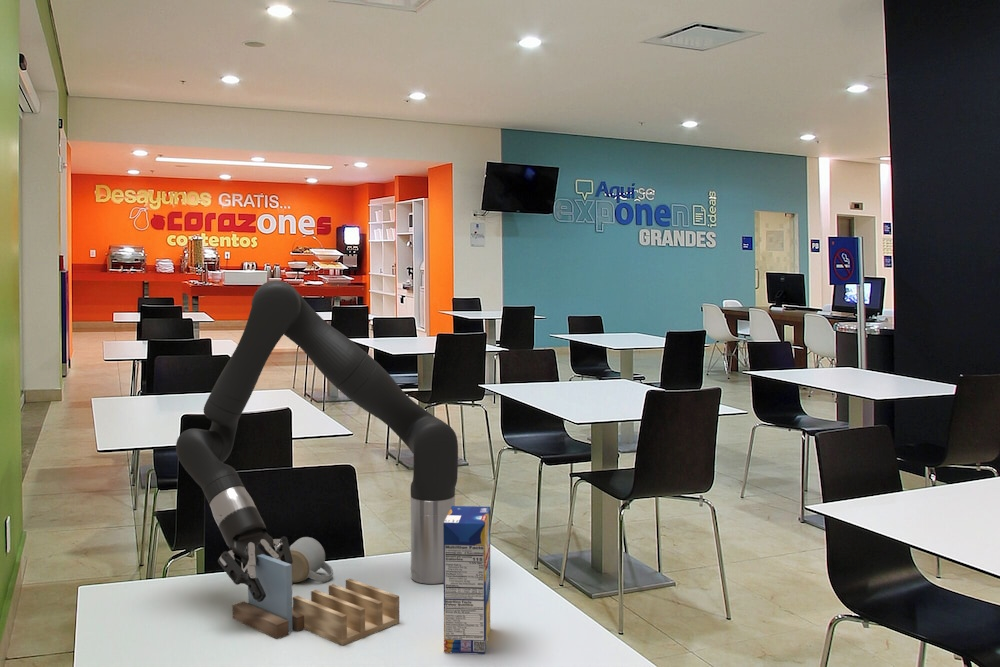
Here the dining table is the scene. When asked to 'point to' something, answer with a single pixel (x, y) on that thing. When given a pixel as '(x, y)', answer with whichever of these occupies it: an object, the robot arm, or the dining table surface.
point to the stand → (266, 620)
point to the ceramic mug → (308, 560)
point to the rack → (348, 611)
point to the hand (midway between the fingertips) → (275, 594)
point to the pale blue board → (274, 587)
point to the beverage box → (466, 579)
